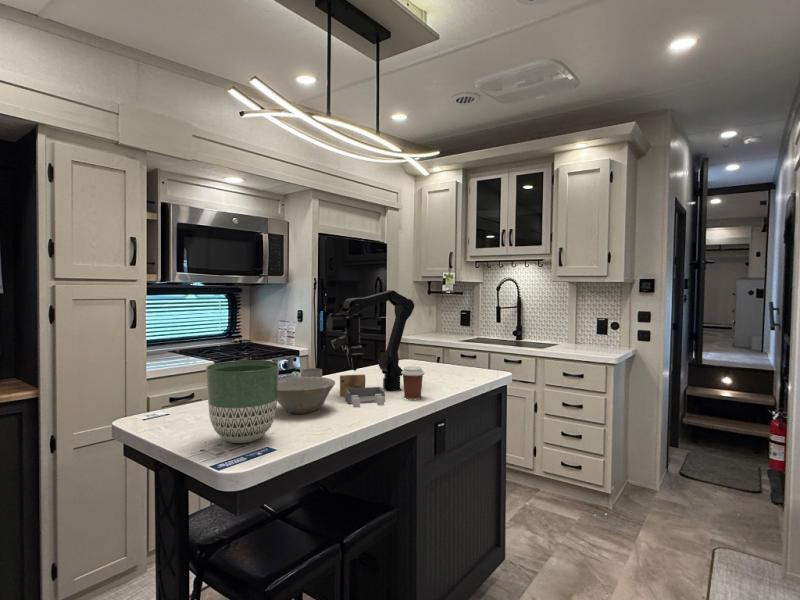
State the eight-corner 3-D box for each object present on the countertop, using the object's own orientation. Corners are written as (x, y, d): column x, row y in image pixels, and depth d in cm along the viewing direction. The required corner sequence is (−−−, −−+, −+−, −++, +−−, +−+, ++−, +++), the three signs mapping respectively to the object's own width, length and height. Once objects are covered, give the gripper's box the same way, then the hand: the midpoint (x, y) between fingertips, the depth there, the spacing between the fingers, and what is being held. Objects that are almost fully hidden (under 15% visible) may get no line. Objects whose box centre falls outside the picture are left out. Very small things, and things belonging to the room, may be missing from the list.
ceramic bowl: (255, 416, 158) (255, 386, 158) (293, 400, 180) (293, 374, 180) (312, 423, 151) (312, 392, 150) (345, 405, 172) (345, 378, 172)
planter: (191, 443, 130) (191, 367, 130) (247, 426, 147) (247, 358, 146) (238, 457, 120) (238, 374, 119) (293, 436, 137) (293, 363, 136)
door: (364, 393, 191) (364, 374, 191) (365, 395, 189) (365, 375, 189) (339, 395, 189) (339, 375, 188) (340, 396, 186) (340, 376, 186)
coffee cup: (398, 396, 187) (398, 366, 187) (419, 394, 190) (419, 365, 190) (405, 401, 178) (405, 370, 178) (427, 400, 181) (427, 369, 181)
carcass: (380, 396, 186) (380, 386, 186) (387, 404, 174) (387, 394, 174) (344, 398, 182) (344, 388, 182) (349, 407, 170) (350, 396, 170)
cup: (319, 397, 184) (319, 372, 184) (298, 397, 185) (298, 372, 184) (323, 392, 193) (323, 368, 193) (303, 392, 193) (303, 368, 193)
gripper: (329, 328, 195) (330, 365, 196) (335, 332, 177) (335, 373, 178) (356, 327, 198) (356, 364, 199) (364, 332, 180) (364, 372, 181)
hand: (352, 368), depth 189 cm, fingers open, 9 cm apart
